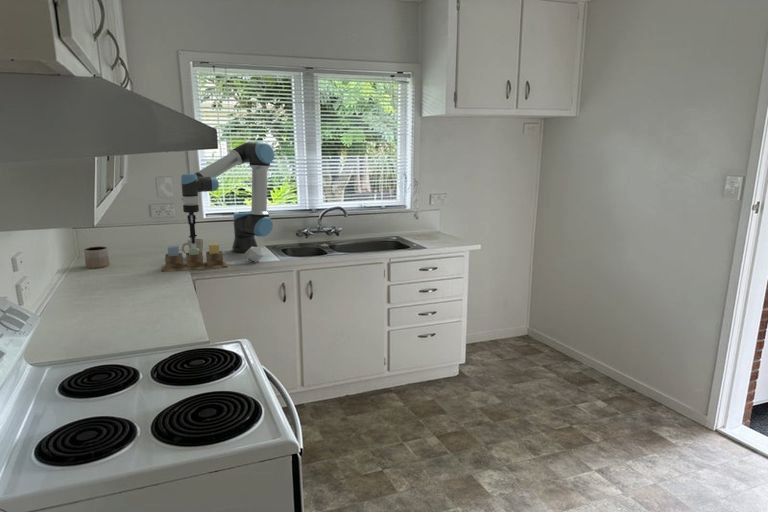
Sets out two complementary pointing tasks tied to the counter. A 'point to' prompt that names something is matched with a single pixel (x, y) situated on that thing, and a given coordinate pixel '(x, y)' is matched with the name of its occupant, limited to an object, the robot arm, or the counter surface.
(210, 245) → the button ochre
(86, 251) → the planter
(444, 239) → the counter surface
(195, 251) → the button sage
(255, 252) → the die
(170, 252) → the button slate
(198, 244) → the mug
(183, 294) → the counter surface
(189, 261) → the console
